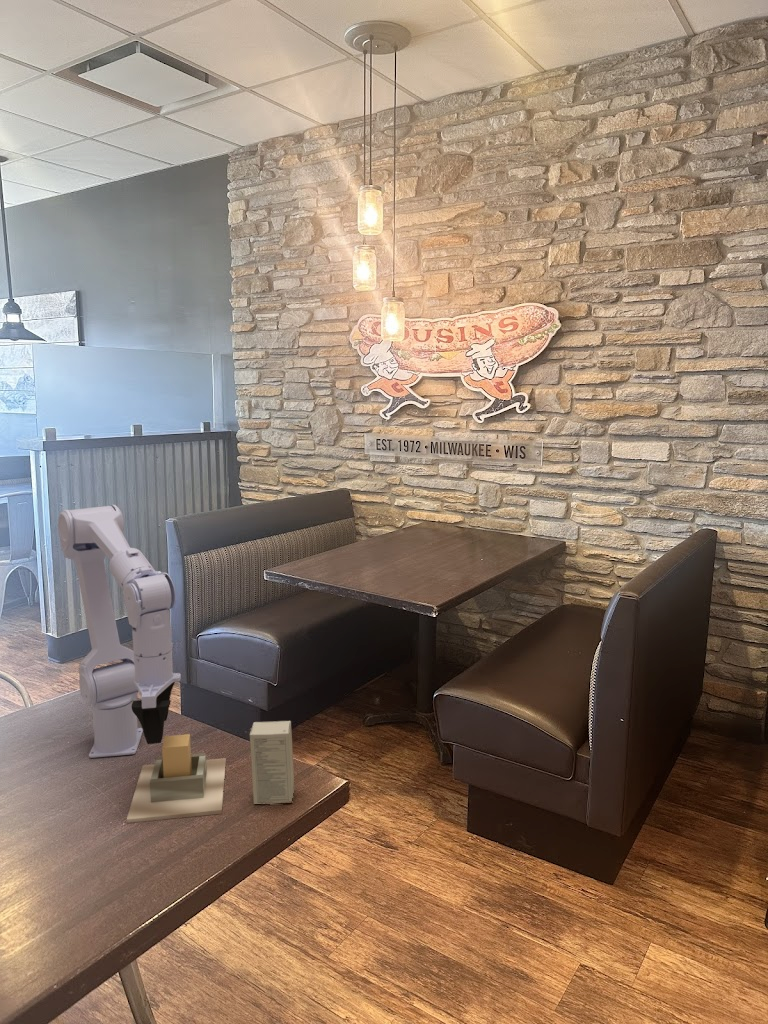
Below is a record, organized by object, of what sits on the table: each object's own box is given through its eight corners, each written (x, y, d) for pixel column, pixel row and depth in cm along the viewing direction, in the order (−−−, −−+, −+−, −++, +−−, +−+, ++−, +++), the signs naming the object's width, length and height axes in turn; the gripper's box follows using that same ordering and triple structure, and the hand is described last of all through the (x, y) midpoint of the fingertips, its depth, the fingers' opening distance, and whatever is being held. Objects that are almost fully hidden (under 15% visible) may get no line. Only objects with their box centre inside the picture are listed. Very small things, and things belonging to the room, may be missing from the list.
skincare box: (294, 789, 118) (292, 720, 116) (292, 805, 114) (290, 733, 112) (255, 790, 118) (253, 720, 116) (251, 806, 113) (249, 734, 111)
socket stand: (143, 768, 125) (141, 746, 124) (226, 761, 127) (225, 740, 126) (126, 823, 109) (125, 798, 108) (221, 813, 111) (220, 789, 111)
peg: (167, 781, 119) (164, 736, 118) (192, 778, 120) (189, 733, 119) (164, 794, 116) (162, 748, 114) (190, 791, 116) (188, 745, 115)
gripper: (174, 666, 108) (179, 751, 110) (183, 633, 122) (186, 709, 124) (124, 669, 106) (130, 755, 109) (139, 636, 120) (143, 712, 123)
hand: (157, 731), depth 116 cm, fingers open, 7 cm apart
